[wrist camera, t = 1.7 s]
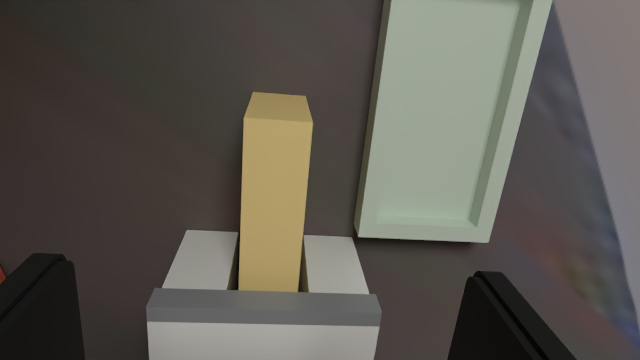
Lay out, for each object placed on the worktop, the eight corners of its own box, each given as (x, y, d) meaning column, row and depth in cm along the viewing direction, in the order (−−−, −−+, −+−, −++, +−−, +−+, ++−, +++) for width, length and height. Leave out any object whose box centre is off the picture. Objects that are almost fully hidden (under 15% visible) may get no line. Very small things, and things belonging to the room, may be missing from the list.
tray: (390, -52, 22) (399, -57, 21) (542, -34, 23) (562, -38, 22) (353, 223, 28) (358, 237, 26) (476, 229, 29) (488, 242, 27)
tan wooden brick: (253, 91, 25) (243, 117, 19) (305, 95, 25) (312, 122, 19) (246, 271, 29) (236, 339, 23) (291, 272, 29) (293, 340, 23)
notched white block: (186, 218, 27) (146, 306, 19) (353, 226, 28) (381, 312, 20) (189, 375, 32) (157, 500, 23) (332, 376, 33) (349, 496, 25)
